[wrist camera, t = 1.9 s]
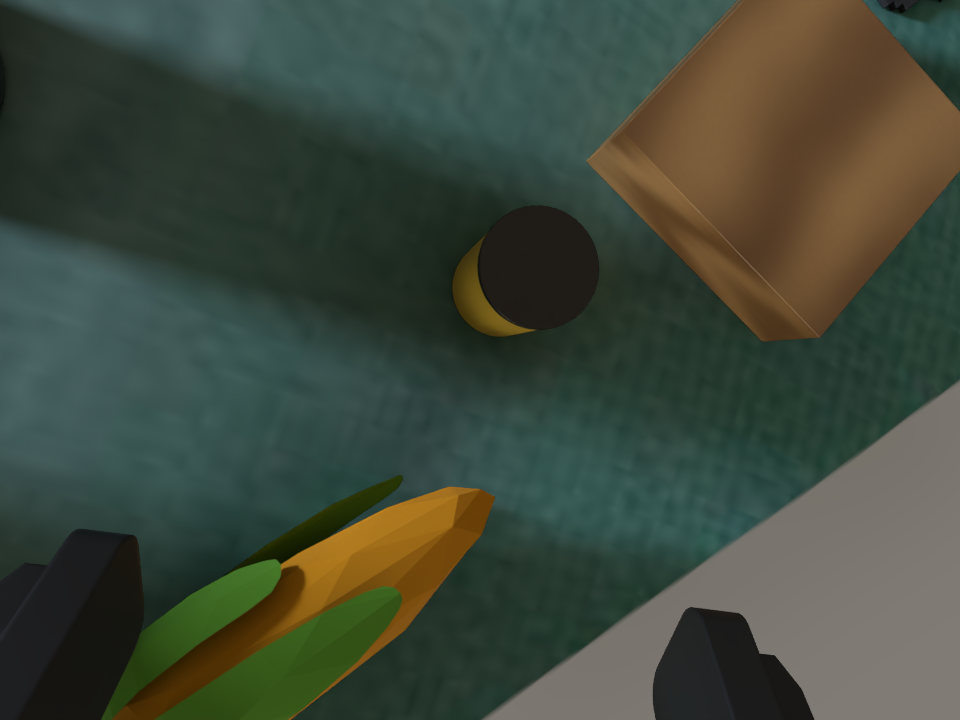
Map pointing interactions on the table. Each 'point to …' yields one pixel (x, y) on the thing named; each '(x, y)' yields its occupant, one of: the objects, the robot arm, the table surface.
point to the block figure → (898, 4)
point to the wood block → (787, 158)
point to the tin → (527, 273)
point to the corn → (300, 610)
